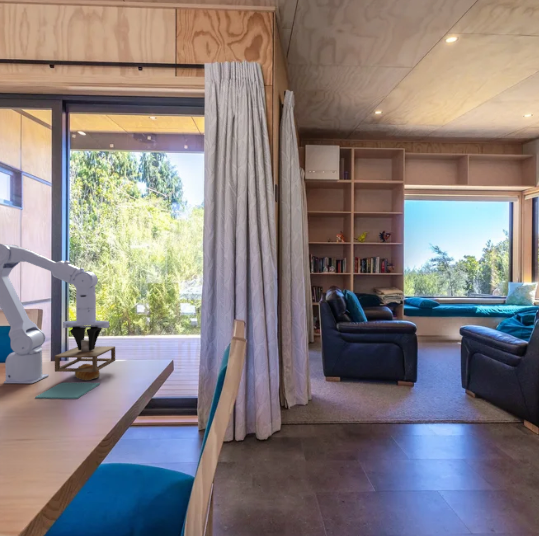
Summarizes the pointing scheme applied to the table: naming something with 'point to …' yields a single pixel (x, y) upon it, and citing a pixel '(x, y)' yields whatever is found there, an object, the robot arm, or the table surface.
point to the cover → (85, 357)
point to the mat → (68, 390)
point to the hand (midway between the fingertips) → (86, 349)
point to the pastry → (87, 373)
